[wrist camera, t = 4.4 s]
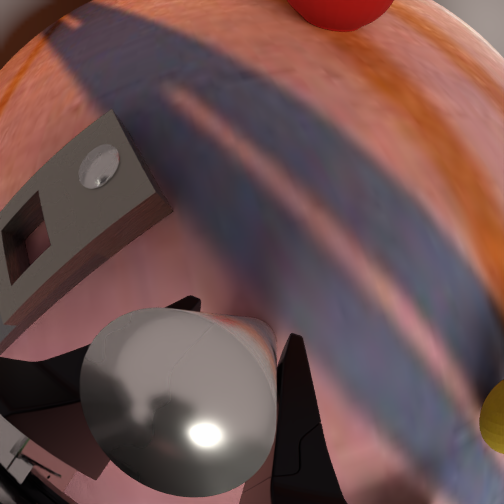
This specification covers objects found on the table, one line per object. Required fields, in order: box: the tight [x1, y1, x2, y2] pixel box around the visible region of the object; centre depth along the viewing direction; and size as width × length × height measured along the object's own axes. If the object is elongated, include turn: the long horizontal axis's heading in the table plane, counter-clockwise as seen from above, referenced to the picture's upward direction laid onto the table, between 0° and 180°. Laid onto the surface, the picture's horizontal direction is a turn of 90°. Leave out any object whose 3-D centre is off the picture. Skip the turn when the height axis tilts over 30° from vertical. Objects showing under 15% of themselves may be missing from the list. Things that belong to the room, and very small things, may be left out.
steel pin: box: [80, 308, 277, 497], centre depth 10 cm, size 3×3×12 cm
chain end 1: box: [0, 109, 173, 326], centre depth 17 cm, size 16×9×3 cm, turn 124°
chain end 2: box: [0, 206, 109, 355], centre depth 17 cm, size 18×9×2 cm, turn 124°
